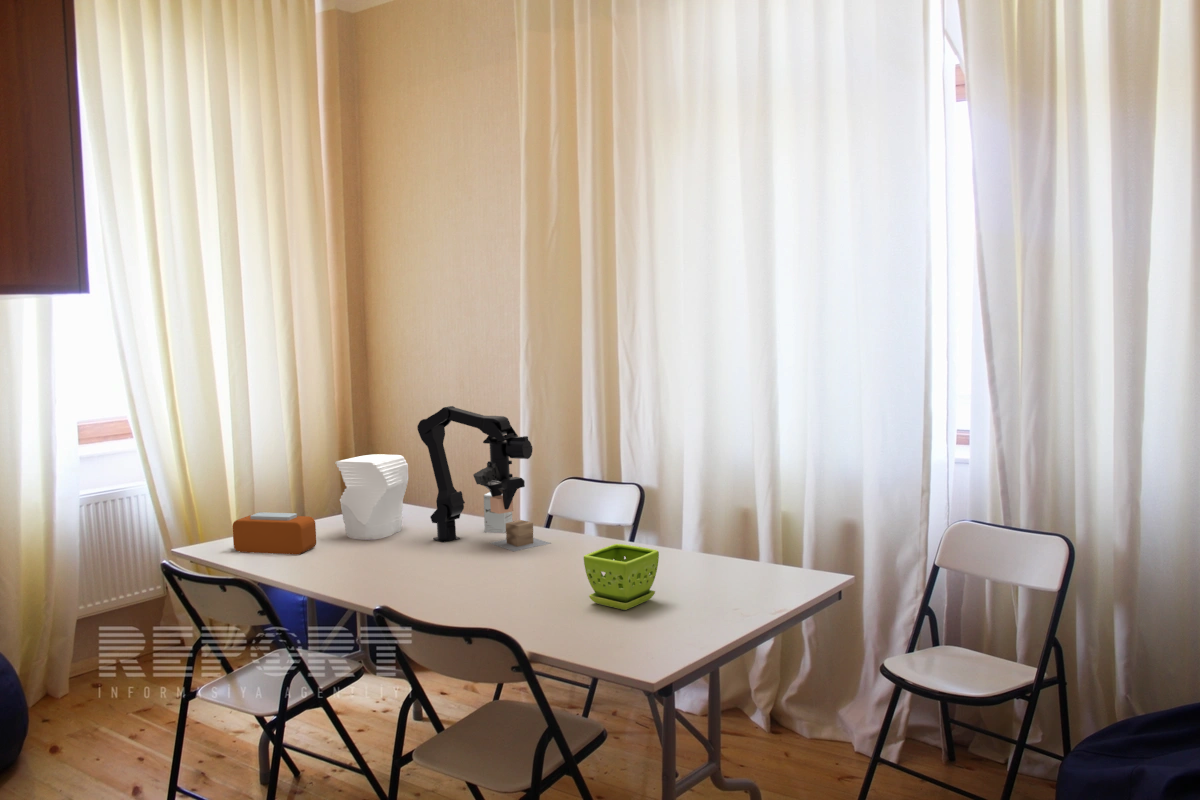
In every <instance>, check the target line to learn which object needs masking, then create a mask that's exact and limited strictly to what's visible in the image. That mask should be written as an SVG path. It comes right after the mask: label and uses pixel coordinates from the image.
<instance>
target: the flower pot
mask: <svg viewBox="0 0 1200 800" xmlns="http://www.w3.org/2000/svg"><path fill="white" fill-rule="evenodd" d="M659 553H660V551H659V550H657V549H653V548H648V547H644V546H643V547H641V546H637V545H630V544H623V543H614V544H611V545H608V546H606V547H603V548H600V549H597V550H595V551H591V552H590V553H587V554H585V555H583V564H584V570H585V573H586V574H585V575H586V577H587V579H588V582H589V584H590V586H591V588H592V590H593V591H594V592H593V593H591V594H589V595H588V597H589V598H590V600H591V601H592V602H594V603H596V604H597V605H602V606H607V607H609V608H610V607H611V608H614V609H619V610H621V611H627V610H629V609H632V608H634V607H636V606H638V605H640V604H643V603H645V602H647V601H649V600H651V599H652V598H653V596H655V594H656V591H655V590H651V588H652V586H653V584H654V581H655V579H656V575H657V572H658V566H659V559H660V554H659ZM603 573H604V574H603Z"/></svg>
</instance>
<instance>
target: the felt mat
mask: <svg viewBox="0 0 1200 800" xmlns="http://www.w3.org/2000/svg"><path fill="white" fill-rule="evenodd" d="M489 544H490V545H493V546H496V547H498V548H501V549H505V550H507V551H511V552H518V551H522V550H523V551H524V550H527V549H533V548H536V547H541V546H544V545H545V546H546V545H549V544H552V543H551V542H549V541H546V540H542V539H539V538H535V537H533V543H532V544H527V545H522V546H518V547H517V546H514V545H511V544H508V543H507V540H506V539H501V540H497V541H491V542H489Z"/></svg>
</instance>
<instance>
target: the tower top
mask: <svg viewBox="0 0 1200 800" xmlns="http://www.w3.org/2000/svg"><path fill="white" fill-rule="evenodd" d="M530 533H533V534H534V522H532V521H528V520H523V519H518V520H514V521H513V520H512V522H509V523H506V532H505V535H506V534H511V535H515V536H522V535H526V534H530Z"/></svg>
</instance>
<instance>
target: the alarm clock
mask: <svg viewBox="0 0 1200 800" xmlns="http://www.w3.org/2000/svg"><path fill="white" fill-rule="evenodd" d="M316 527H317V526H316V520H315V519H314V518H313V517H312V516H306V515H305V516H304V515H302V516H301V515H298V513H294V512H293V513H292V512H291V513H290V512H266V511H265V512H260V511H259V512H257V513H254V514H250V515H247V516H244V517H242V518H239V519H236V520H234V521H233V523H232V539H233V549H234V550H235V551H236V552H237V551H240V552H239V553H250V552H254V553H256V554H272V553H273V555H274V554H277V555H278V554H279V555H296V556H297V555H301V554H303V553H306V552H308V551H310V550H312V549H313V548H315V547H316V546H317V529H316Z"/></svg>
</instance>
